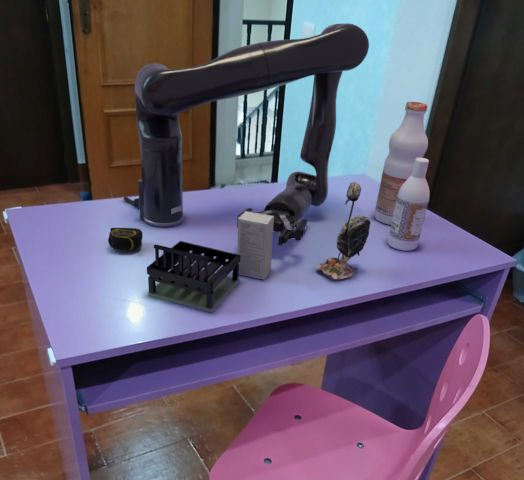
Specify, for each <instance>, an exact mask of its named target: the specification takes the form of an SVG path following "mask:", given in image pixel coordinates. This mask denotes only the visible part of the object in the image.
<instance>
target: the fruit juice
mask: <svg viewBox="0 0 524 480" xmlns="http://www.w3.org/2000/svg"><path fill="white" fill-rule="evenodd" d="M404 111H405V114H404V117H403V119H402V122H401V124H400V125H399V126H398V128H397V129H395V130H394V131H393V133H392V134H391V135H390V138H389V141H388V154H387V157H386V158H385V159H384V160H385V161H384V164H383V168H382V173H381V178H380V183H379V188H378V192H377V199H376V202H375V203H376V204H375V209H374V218H375V220H376V221H378V222H379V223H381V224H384V225H389V226H391V223H392V219H393V214H394V210H395V205H396V201H397V196H398V193H399V190H400V188H401V186H402V185H403V184H404V182H405V181H406V180H407V179H408V178H409V177H410V176H411V175H412V172H413V167H414V163H415V159H416V158H424V157H425V154H426V153H427V151H428V147H429V139H428V136H427V134H426V131H425V125H424V119H425V118H424V117H425V114H426V113H427V111H428V105H427V104H426V103H425V102H420V101H407V102H406V104H405V107H404Z"/></svg>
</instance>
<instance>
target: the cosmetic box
mask: <svg viewBox="0 0 524 480" xmlns="http://www.w3.org/2000/svg"><path fill="white" fill-rule="evenodd" d="M244 211H245V210H244ZM273 225H274V216H270V215H264V214H259V212H253V211H252V212H248V211H245V212H244V213H243V214H242V215H241V216H240V217H239V218H238V228H237V248H236V249H237V251H236V254H238V255H241V256H240V262H239V263H238V264H239V276H244V277H247V278H248V277H249V278H253V279H256V280H257V279H258V280H263V281H265V280H266V279H267V277H268V276H269V275H270V273H271V269H272V253H273V243H274V242H273V241H274V240H273V239H274V231H273Z"/></svg>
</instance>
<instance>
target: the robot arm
mask: <svg viewBox="0 0 524 480" xmlns="http://www.w3.org/2000/svg"><path fill="white" fill-rule="evenodd" d="M366 33H367V32H365V31H364V30H363V29H362V27H360V26H358V25H356V24H354V23H349V22H346V23H333V24H330V25H328V26H326V27H325V28H324V29H322V32H321V33H320V34H317V35H313V36H309V37H304V38H291V39H277V40H276V39H275V40H268V41H260V42H257V43H256V42H255V43H252V44H248V45H243V46H239V47H237V48H233V49H231V50H228V51H227V52H224V53H223V54H221V55H218V56H217V57H215V58H214V59H212V60H210V61H208V62H205V63H203V64H198V65H195V66H189V67H182V68H181V67H180V68H172V69H170V68H169V67H168V66H166V65H164V64H161V63H156V62H154V63H148V64H146V65H144V66H142V67H141V69H140V70H139V71H138V73H137V75H136V77H135V80H134V101H135V104H134V105H135V115H136V129H137V133H138V140H139V153H140V154H139V155H140V172H141V173H140V174H141V178H139V179H138V181H137V186H138V189H137V190H138V198H137V197H136V198H134V199H133V200H132V199H131V198H129V197H127V196H124V197H123V201H125V202H127V203H128V204H130V205H132V206H134V207H137V210H139V220H141V221H143V222H144V223H146V224H148V225H150V226H153V227H159V228H168V227H175V226H178V225H180V224H182V223H183V222H184V198H183V197H184V196H183V194H184V193H183V192H184V190H183V188H184V185H183V134H182V130H181V127H180V121H179V114H181V113H183V112H185V111H188V110H191V109H193V108H196V107H200V106H202V105H205V104H209V103H212V102H216V101H222V100H229V99H232V98H233V99H234V98H237V97H242V96H247V95H252V94H256V93H259V92H263V91H267V90H271V89H274V88H279V87H281V86H284V85H287V84H290V83H293V82H296V81H299V80H302V79H305V78H308V77H311V76H313V83H312V84H313V85H312V91H311V93H312V95H311V100H310V105H309V106H310V108H309V111H308V112H309V113H308V118H307V122H306V128H305V132H304V136H303V141H302V144H301V148H300V149H301V150H300V155H299V156H300V157H299V158H300V160H301V161H302V162H304V163H306V164H308V165H309V166H311V167H312V168H313V169H314V171H315V174H310V173H307V172H303V171H293V172H291V173H290V174H289V176H288V178H287V180H286V184H285V188H284V190H283V191H281V192H279V193H278V194H277V195H275V196H274V197H273V198H272V199H271V200H270V201H269V202H268V203H267V204H266V205H265V207H264V209H263V210H262V211H259V212H258V213H259V214H264V215H270V216H274V225H273V233H274V232H275V233H278V234H279V235H278V238H277V245H278V246H283V245H286V244H287V243H288V242H289V241H292V239H294V241H295V242H301V240H302V239H303V238H304V236H305V234H306V233H307V226H308V220H307V219H302V218H303V216H304V215H305V213H306V212H307V210H309V208H310V207H311V206H313V207H320V206H321V205H323V204H324V203H325V202H326V200H327V198H328V194H329V162H330V156H331V153H332V148H333V145H334V140H335V135H336V129H337V95H338V89H339V85H340V82H341V81H340V80H341V77H342V75H343V72H347V71H351V70H355V69H356V68H357V67H359V66H360V65H361V64H362V63H363V62H364V61H365V59H366V58H367V56H368V52H369V49H370V41H369V37H368V35H367V34H366ZM245 211H248V212H253V208H252V207H247V208H246V209H244V210H243V211H242V212H240V213H239V214H238V215H236V216H237V217H236V228H237V229H238V218H239V217H240V216H241V215H242V214H243V213H244V212H245ZM294 228H295V229H294Z"/></svg>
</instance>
